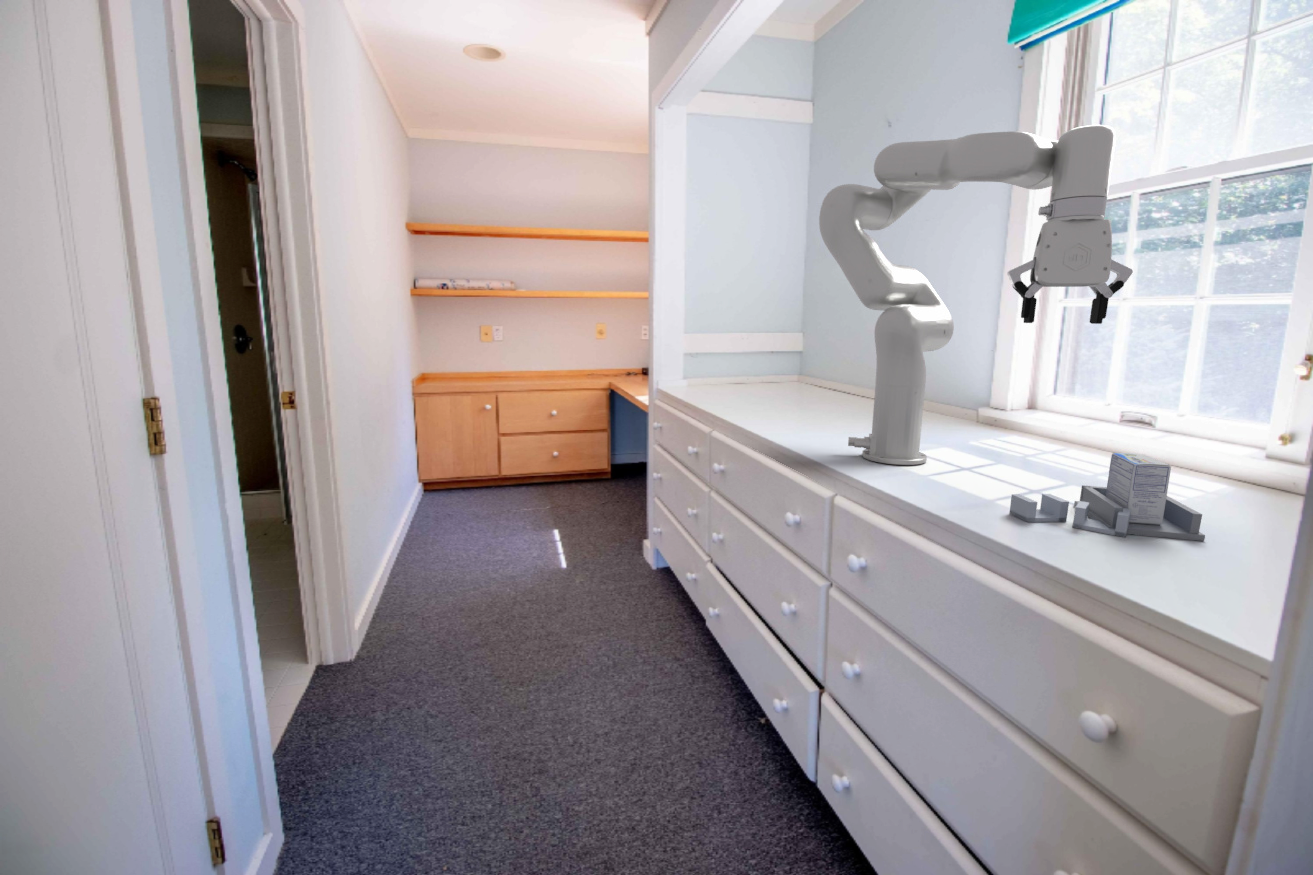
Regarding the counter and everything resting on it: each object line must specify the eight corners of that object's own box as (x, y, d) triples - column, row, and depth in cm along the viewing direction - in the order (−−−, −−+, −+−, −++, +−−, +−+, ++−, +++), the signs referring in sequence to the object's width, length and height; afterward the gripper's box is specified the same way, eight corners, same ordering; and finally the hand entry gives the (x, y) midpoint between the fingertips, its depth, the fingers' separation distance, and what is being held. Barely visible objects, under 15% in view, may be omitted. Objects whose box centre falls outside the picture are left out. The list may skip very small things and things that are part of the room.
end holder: (1108, 532, 85) (1112, 508, 84) (1074, 505, 97) (1077, 484, 97) (1204, 541, 82) (1208, 515, 81) (1156, 512, 94) (1159, 490, 94)
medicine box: (1162, 526, 85) (1173, 465, 84) (1125, 523, 86) (1135, 463, 85) (1136, 509, 93) (1146, 453, 91) (1102, 507, 94) (1111, 451, 92)
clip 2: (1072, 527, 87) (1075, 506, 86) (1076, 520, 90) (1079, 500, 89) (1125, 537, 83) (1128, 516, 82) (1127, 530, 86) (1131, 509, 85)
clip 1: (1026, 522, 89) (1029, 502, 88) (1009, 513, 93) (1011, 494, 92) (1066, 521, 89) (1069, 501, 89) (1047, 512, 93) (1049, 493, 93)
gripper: (1021, 211, 96) (1008, 322, 99) (1152, 207, 91) (1133, 324, 95) (1008, 218, 103) (997, 322, 106) (1129, 215, 99) (1113, 323, 102)
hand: (1061, 323), depth 101 cm, fingers open, 9 cm apart
